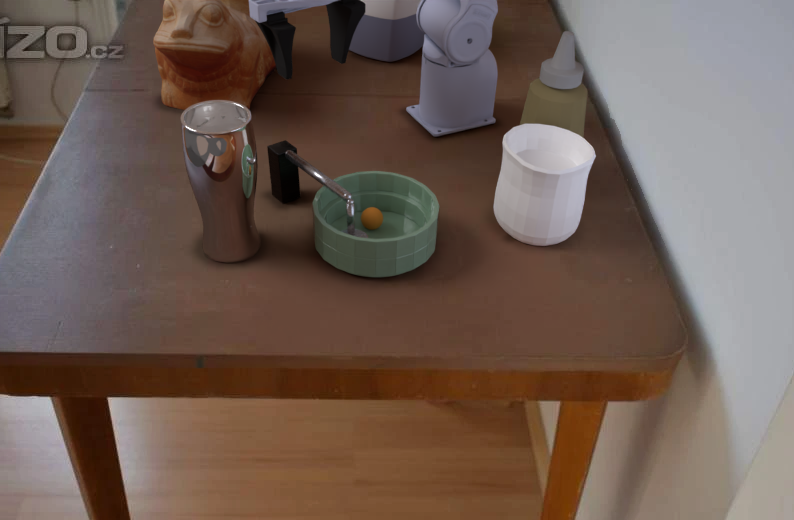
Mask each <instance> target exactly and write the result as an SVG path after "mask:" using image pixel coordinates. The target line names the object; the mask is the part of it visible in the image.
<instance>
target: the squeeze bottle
mask: <svg viewBox="0 0 794 520" xmlns="http://www.w3.org/2000/svg"><path fill="white" fill-rule="evenodd" d="M561 34H562V35H561V36H560V40H559V42H558V45H557V46H556V49H555V52H554V55H553V57H550V58H547V59H545V60H544V61H542V62H541V67H540V73H539V76H538V77H537V78H536V79H534V80H532V81H531V82H530V84H529V88H528V90H527V95H526V99H525V102H524V106H523V110H522V115H521V118H520V122H519V125H522V124H544V125H551V126H556V127H559V128H563V129H566V130H569V131H571V132H574V133H576V134H578V135H580V136H581V137H583V138H584V133H585V132H584V131H585V123H586V111H587V103H588V93H589V92H588V91H589V90H588V88H587V87H586V86H585V85H584V84H583V83H582V81H583V77H584V72H585V68H584V66H583V65H582V63H580V62H578V61H577V60H576V47H575V44H576V43H575V33H574V32H573V31H571V30H565V31H563V32H562V33H561Z"/></svg>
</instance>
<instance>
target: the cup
mask: <svg viewBox="0 0 794 520" xmlns="http://www.w3.org/2000/svg"><path fill="white" fill-rule="evenodd" d="M501 143H502V144H501V145H502V156H501V165H500V170H499V174H498V179H497V183H496V187H495V192H494V199H493V206H492V207H493V213H494V216H495V220H496V221H497V223H498V225H499V226H500V227H501V228H502V230H503V231H504V232H505V233H507V234H508V235H509V236H511V238H513V239H515V240H517V241H519V242H521V243H522V244H526V245H530V246H537V247H545V246H546V247H547V246H552V245H557V244H559V243H562V242H564V241H566V240H568V239H569V238H570V237H572V235H574V234H575V233H576V231H577V229H578V227H579V225H580V222H581V219H582V214H583V209H584V204H585V198H586V191H587V184H588V178H589V174H590V172H591V169H592V167H593V164H594V162H595V159H596V157H597V155H596V152H595V148H594V147H593V146H592V145H591V143H589V142H588V141H587V140H586V139H585V138H584V136H583V137H581V136H580V135H578V134H576V133H574V132H571V131H569V130H566V129H563V128H559V127H556V126H551V125H544V124H522V125H520V124H519V125H516V126H513V127H512V128H511V129H509V130H508V131H507V132H506V133H505V134H504V135H503V138H502V142H501Z"/></svg>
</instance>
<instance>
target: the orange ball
mask: <svg viewBox="0 0 794 520" xmlns="http://www.w3.org/2000/svg"><path fill="white" fill-rule="evenodd" d="M361 222H362V224H363V226H364V227H366V228H367V229H370V230H374V229H377V228H379V227H380V226H381V224H382V222H383V215H382V213H381V211H380V210H379V209H377V208H375V207H370V208H367V209H365V210H364V211H363V213H362V215H361Z"/></svg>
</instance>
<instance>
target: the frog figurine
mask: <svg viewBox="0 0 794 520" xmlns="http://www.w3.org/2000/svg"><path fill="white" fill-rule="evenodd" d="M152 40H153V46H154V53H155V59H156V62H157V69H158V73H159V76H160V78H161V91H160V94H161V102H162V104H163V105H164V106H166V107H169V108H175V109H178V110H182V111H184V110H186V109H187V108H188V107H190V106H192V105H194V104H197V103H200V102H204V101H210V100H227V101H233V102H237V103H240V104H242V105H244V106H245V107H247V108H248V109H249V110H250V108H251V103H252V101H253V99H254V98H255V96H256V95H257V94H258V92H259V91H260V89H261V87H262V86H263V84H264V83H265V81H266V80H267V79H268V78H269V76H271V75H272V74H273V73H275V71H276V70H277V68H276V64H275V61H274V58H273V55H272V52H271V50H270V47H269V45H268V43H267V41H266V39H265V37H264V35H263V33H262V31H261V29H260V28H259V26H258V25H257V23H256V22H255V20H254V19H253V18H251V17H250V10H249V0H164V1H163V6H162V21H161V23H160V25H159V27H158V29H157V31H156V33H155V34H154V36H153V39H152Z"/></svg>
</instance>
